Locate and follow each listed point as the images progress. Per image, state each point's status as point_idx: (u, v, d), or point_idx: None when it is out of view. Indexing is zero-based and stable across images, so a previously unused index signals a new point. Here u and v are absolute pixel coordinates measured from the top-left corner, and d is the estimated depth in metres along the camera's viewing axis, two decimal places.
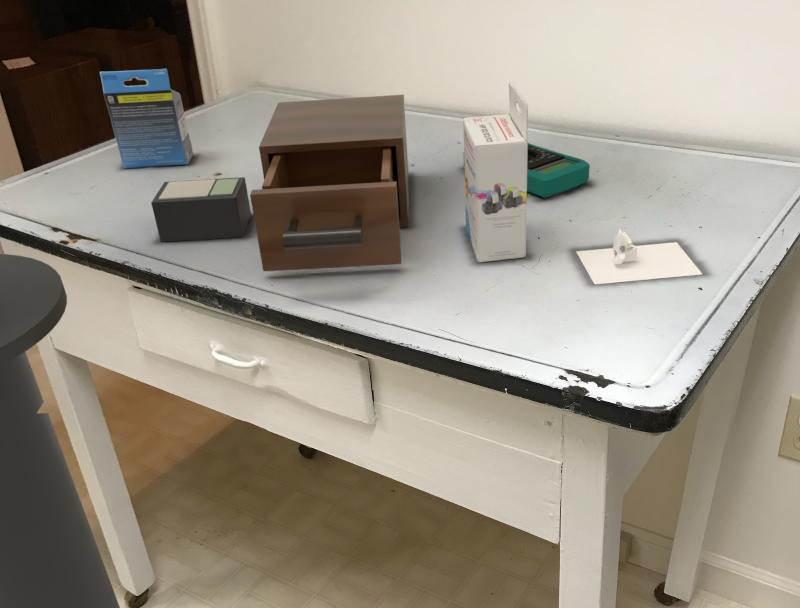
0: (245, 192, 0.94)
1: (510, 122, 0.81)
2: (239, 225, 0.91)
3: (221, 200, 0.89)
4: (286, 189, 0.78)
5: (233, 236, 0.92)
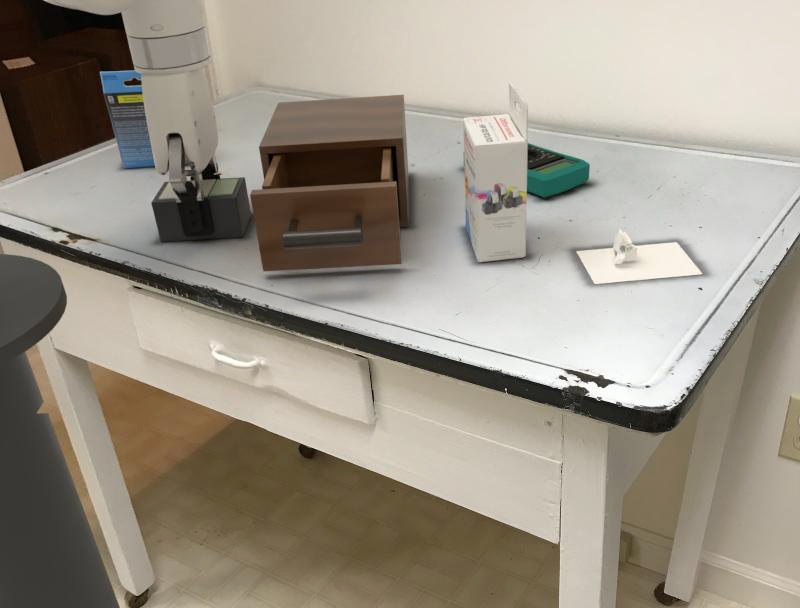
0: (245, 192, 0.94)
1: (510, 122, 0.81)
2: (239, 225, 0.91)
3: (221, 200, 0.89)
4: (286, 189, 0.78)
5: (233, 236, 0.92)
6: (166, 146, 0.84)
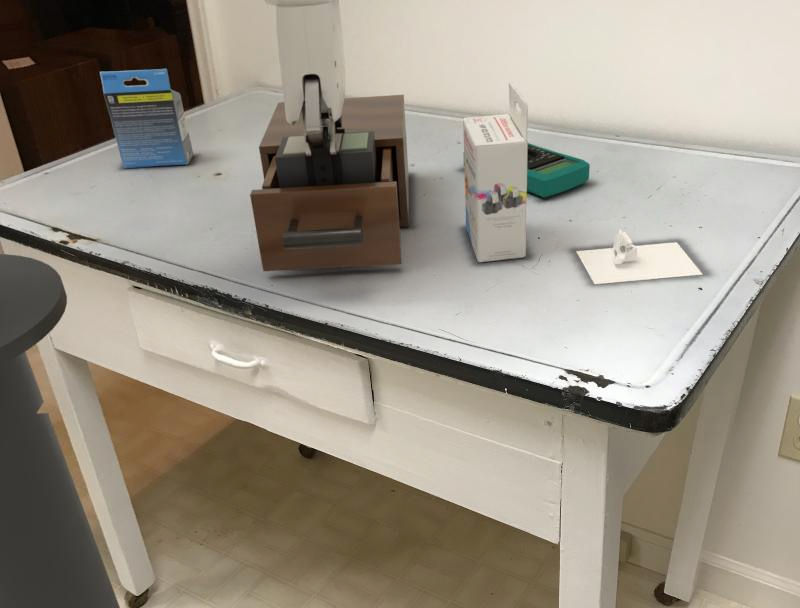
0: None
1: (510, 122, 0.81)
2: None
3: (355, 154, 0.79)
4: (286, 189, 0.78)
5: None
6: (301, 90, 0.73)
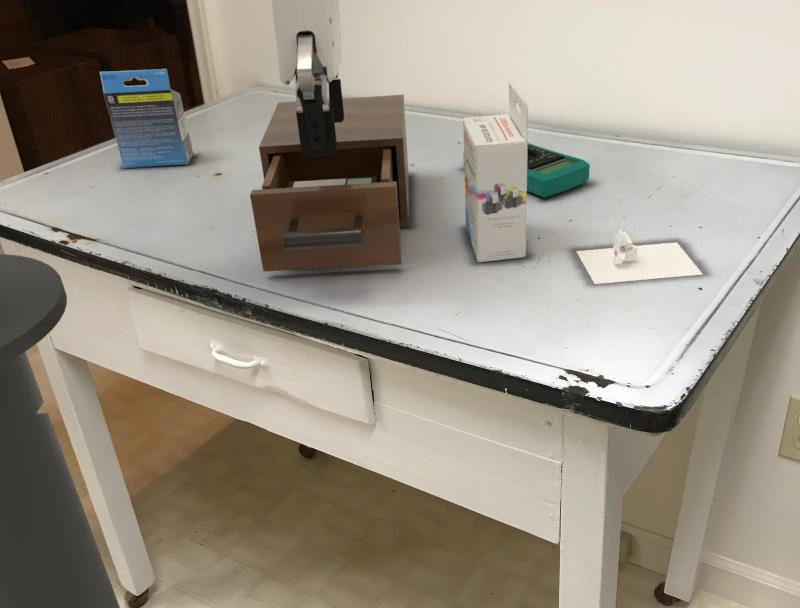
0: None
1: (510, 122, 0.81)
2: None
3: None
4: (286, 189, 0.78)
5: None
6: (295, 47, 0.71)
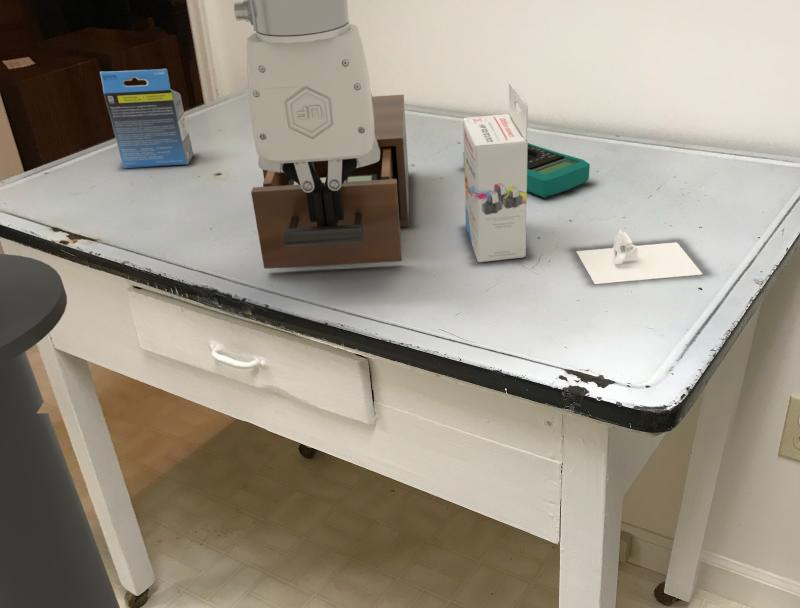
0: None
1: (510, 122, 0.81)
2: None
3: None
4: (287, 187, 0.79)
5: None
6: (372, 111, 0.72)
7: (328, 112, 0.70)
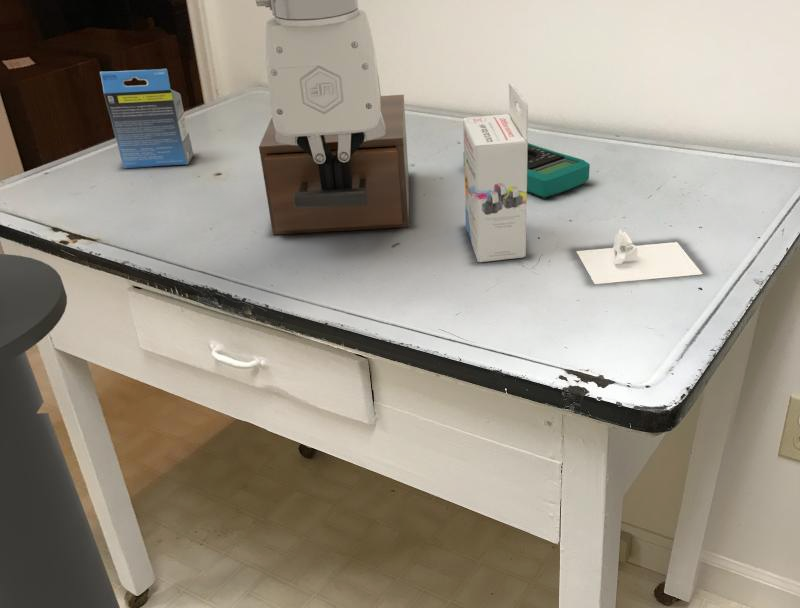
0: None
1: (510, 122, 0.81)
2: None
3: None
4: (297, 154, 0.86)
5: None
6: (379, 89, 0.79)
7: (339, 89, 0.78)
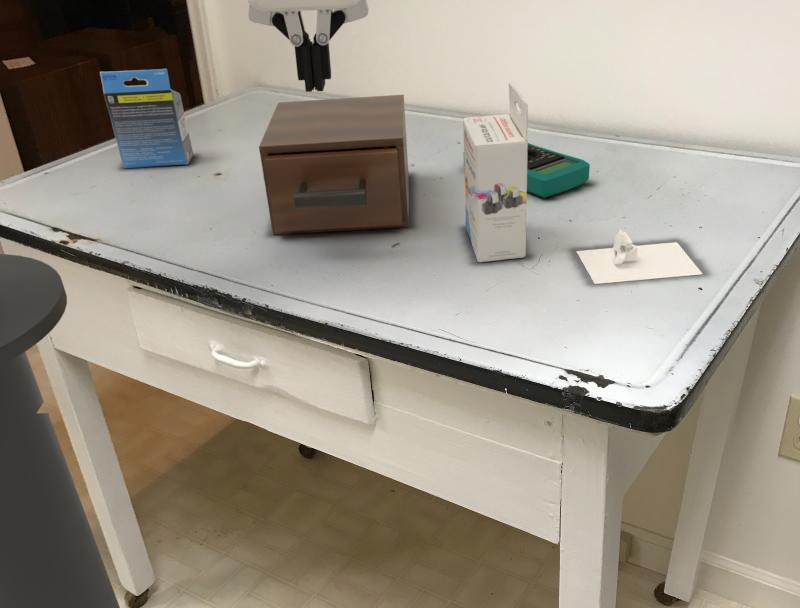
0: None
1: (510, 122, 0.81)
2: None
3: None
4: (297, 155, 0.86)
5: None
6: None
7: None
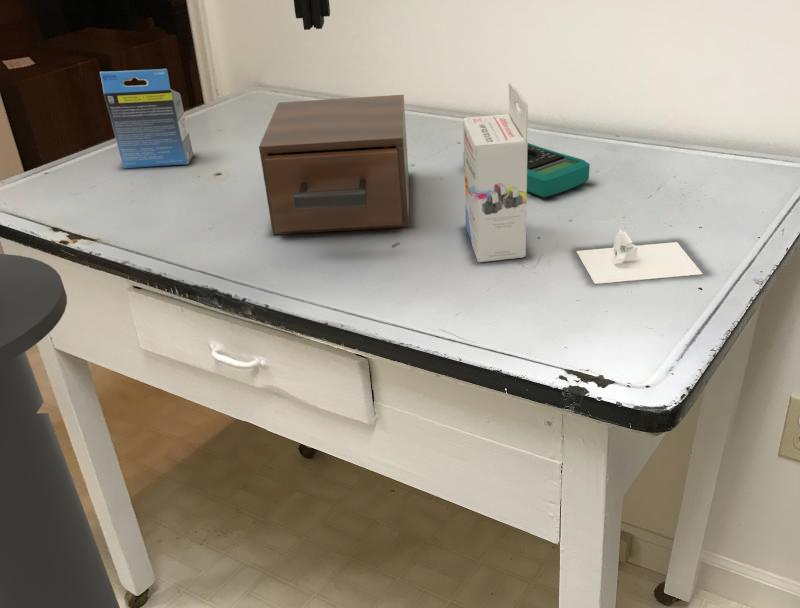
0: None
1: (510, 122, 0.81)
2: None
3: None
4: (297, 155, 0.86)
5: None
6: None
7: None
